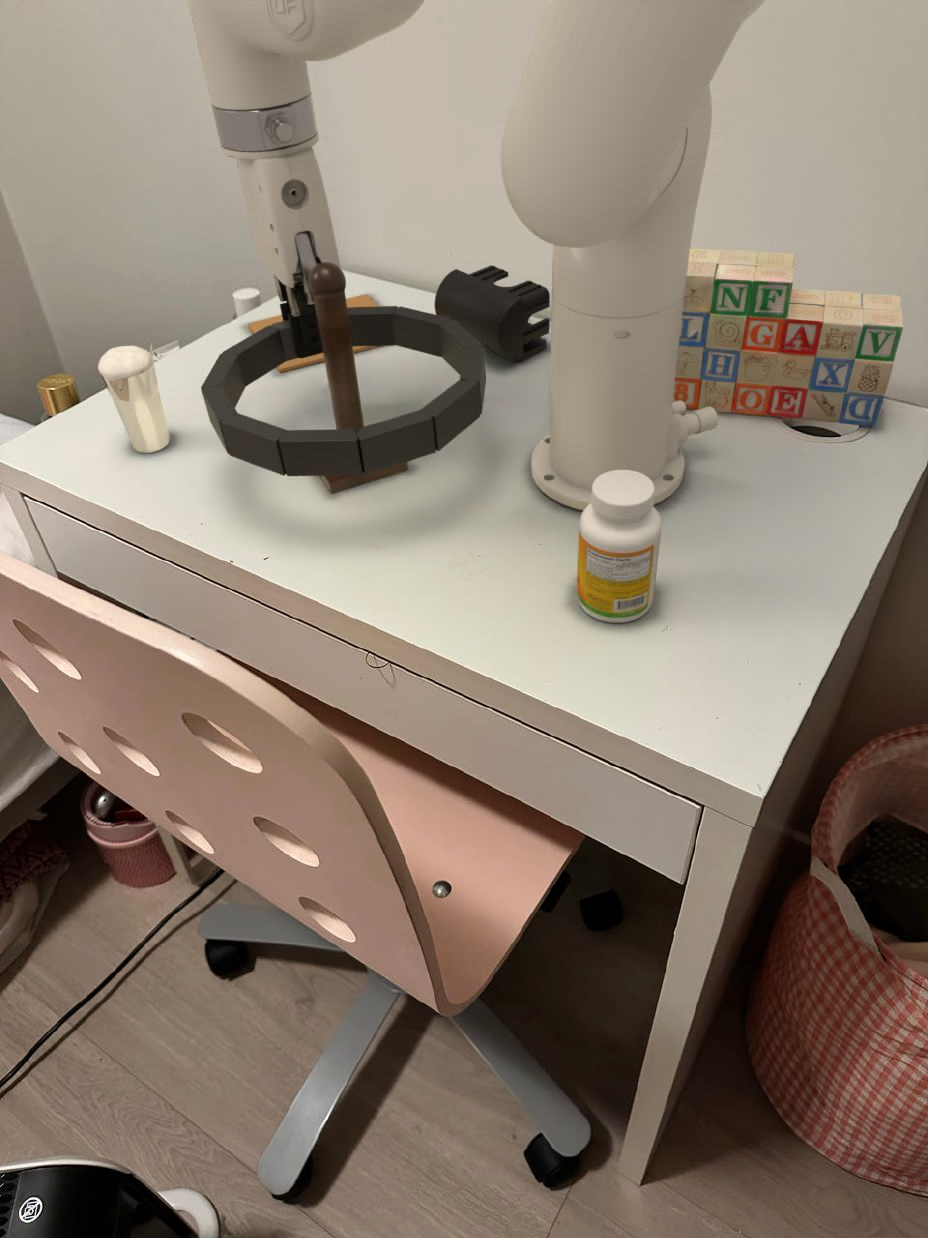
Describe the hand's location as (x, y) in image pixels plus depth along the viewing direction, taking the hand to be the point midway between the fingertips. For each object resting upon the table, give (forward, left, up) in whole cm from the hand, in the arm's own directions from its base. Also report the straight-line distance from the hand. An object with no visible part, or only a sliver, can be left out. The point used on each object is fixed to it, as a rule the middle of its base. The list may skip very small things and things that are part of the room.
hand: (310, 346), depth 83 cm
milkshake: (+15, -2, -7) cm, 17 cm away
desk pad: (-6, -15, -6) cm, 17 cm away
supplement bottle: (-10, +36, -7) cm, 38 cm away
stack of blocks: (-35, +19, -7) cm, 40 cm away
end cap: (-20, -3, -7) cm, 21 cm away
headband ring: (0, +10, 0) cm, 10 cm away
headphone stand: (0, +10, -6) cm, 12 cm away
